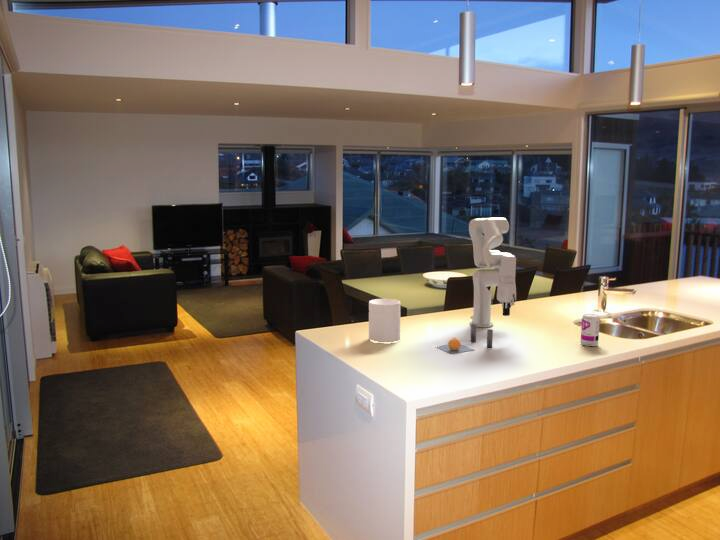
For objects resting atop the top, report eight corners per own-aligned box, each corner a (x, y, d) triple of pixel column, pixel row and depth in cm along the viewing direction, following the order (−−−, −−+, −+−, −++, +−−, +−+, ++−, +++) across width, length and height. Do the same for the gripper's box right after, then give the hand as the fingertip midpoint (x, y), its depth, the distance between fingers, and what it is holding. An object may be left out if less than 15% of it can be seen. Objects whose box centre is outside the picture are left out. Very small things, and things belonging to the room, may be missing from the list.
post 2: (485, 347, 308) (486, 329, 306) (489, 346, 309) (490, 329, 307) (488, 348, 305) (489, 330, 304) (493, 348, 306) (493, 330, 305)
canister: (373, 345, 312) (374, 305, 309) (365, 337, 327) (365, 299, 324) (404, 343, 316) (404, 303, 313) (394, 335, 331) (394, 298, 328)
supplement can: (587, 347, 308) (588, 317, 305) (577, 343, 315) (578, 314, 313) (601, 346, 310) (603, 316, 308) (591, 342, 318) (592, 313, 315)
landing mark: (434, 346, 309) (434, 346, 309) (458, 343, 315) (458, 343, 315) (450, 353, 297) (450, 353, 297) (474, 350, 303) (474, 349, 303)
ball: (443, 344, 303) (450, 334, 304) (451, 352, 305) (458, 342, 306) (450, 346, 297) (458, 336, 299) (458, 354, 300) (465, 344, 301)
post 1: (469, 341, 319) (470, 324, 318) (473, 340, 320) (474, 323, 319) (472, 342, 317) (473, 325, 316) (476, 341, 318) (477, 324, 317)
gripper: (492, 277, 320) (490, 313, 322) (511, 282, 306) (509, 319, 309) (503, 276, 323) (502, 311, 326) (523, 281, 310) (521, 317, 312)
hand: (506, 315), depth 317 cm, fingers closed
